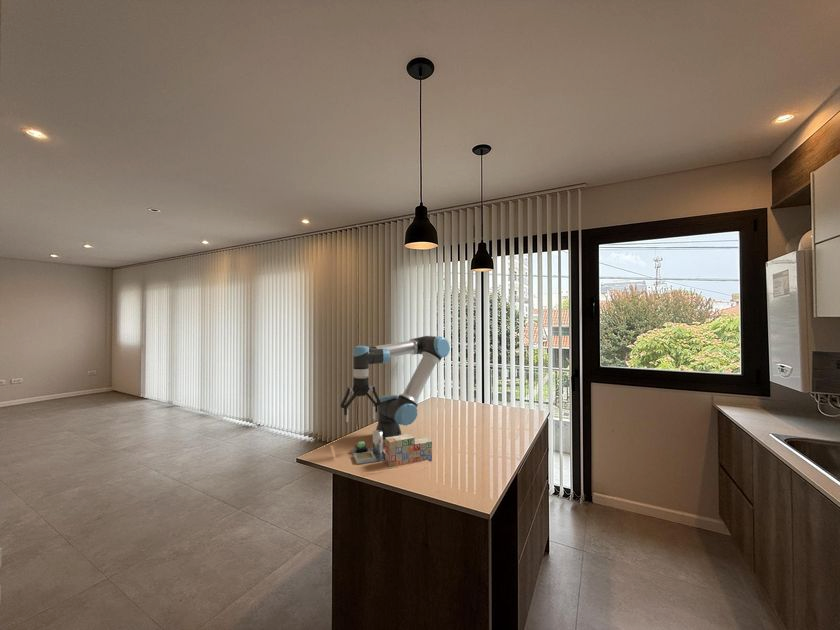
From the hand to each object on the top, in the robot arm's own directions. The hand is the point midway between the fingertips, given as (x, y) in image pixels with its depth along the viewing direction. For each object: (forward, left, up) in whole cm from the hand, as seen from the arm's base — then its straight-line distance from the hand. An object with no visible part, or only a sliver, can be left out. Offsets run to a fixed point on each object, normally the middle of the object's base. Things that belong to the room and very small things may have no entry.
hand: (360, 420), depth 168 cm
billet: (-8, +3, -15) cm, 18 cm away
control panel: (-3, +6, -16) cm, 18 cm away
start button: (0, 0, -14) cm, 14 cm away
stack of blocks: (-19, +18, -17) cm, 31 cm away
